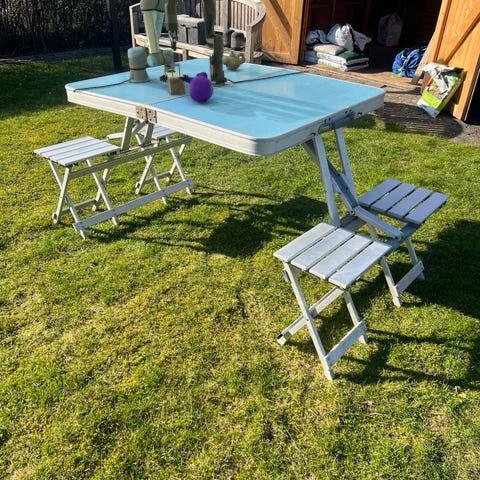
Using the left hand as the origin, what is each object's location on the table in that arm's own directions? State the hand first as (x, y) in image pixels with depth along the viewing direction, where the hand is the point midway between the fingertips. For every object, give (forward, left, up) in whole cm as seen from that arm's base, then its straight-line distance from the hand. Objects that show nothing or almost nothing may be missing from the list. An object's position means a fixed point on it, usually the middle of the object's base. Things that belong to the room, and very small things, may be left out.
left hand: (175, 80), depth 309 cm
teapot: (+58, +55, -6) cm, 80 cm away
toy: (+7, -38, -6) cm, 39 cm away
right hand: (-2, -14, +21) cm, 26 cm away
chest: (-2, -8, -6) cm, 10 cm away
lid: (-2, -8, +4) cm, 10 cm away
